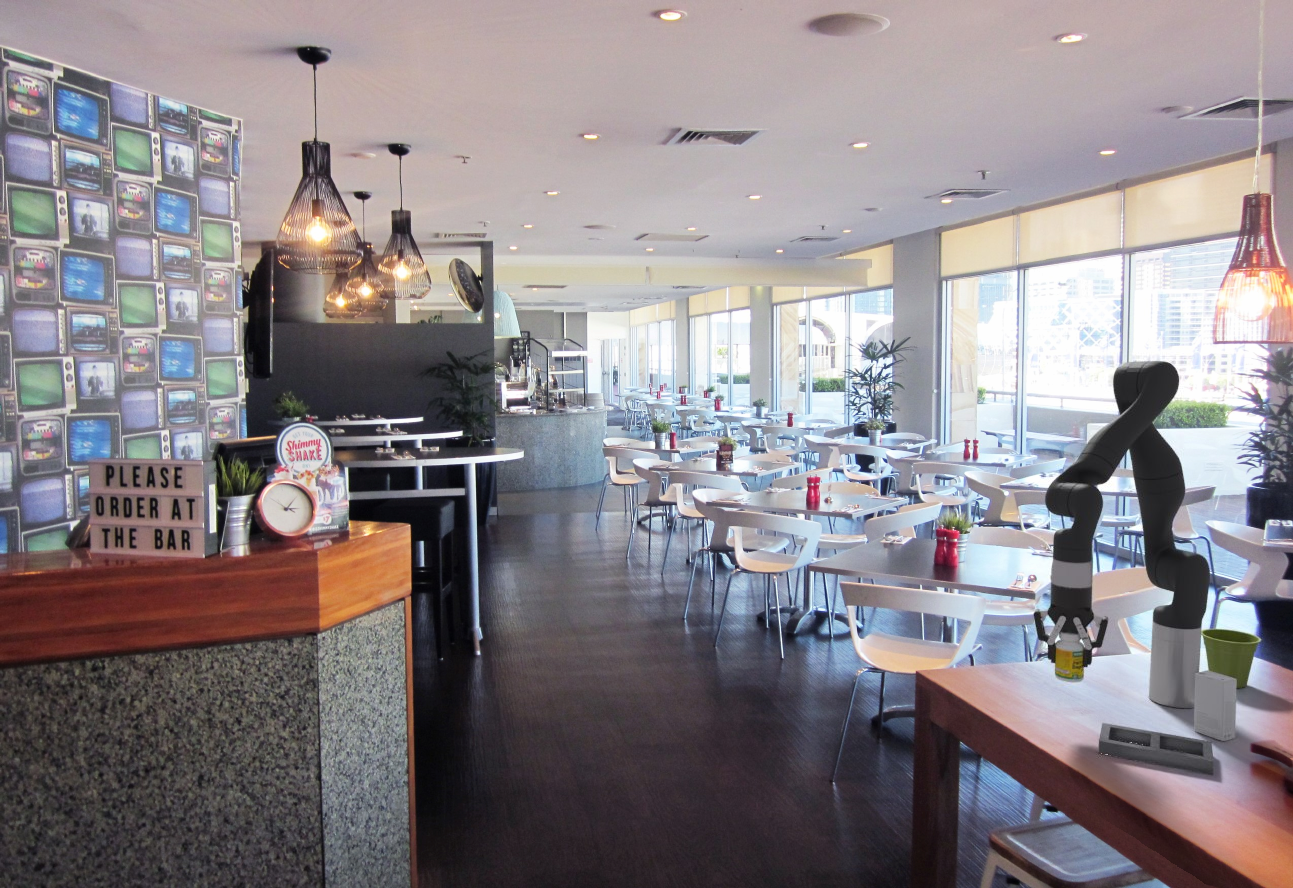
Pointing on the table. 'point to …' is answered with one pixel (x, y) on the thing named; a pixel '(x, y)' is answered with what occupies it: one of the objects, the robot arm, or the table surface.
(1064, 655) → the supplement bottle
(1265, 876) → the table surface
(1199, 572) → the robot arm
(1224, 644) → the plant pot
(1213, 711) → the skincare box
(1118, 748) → the rail
